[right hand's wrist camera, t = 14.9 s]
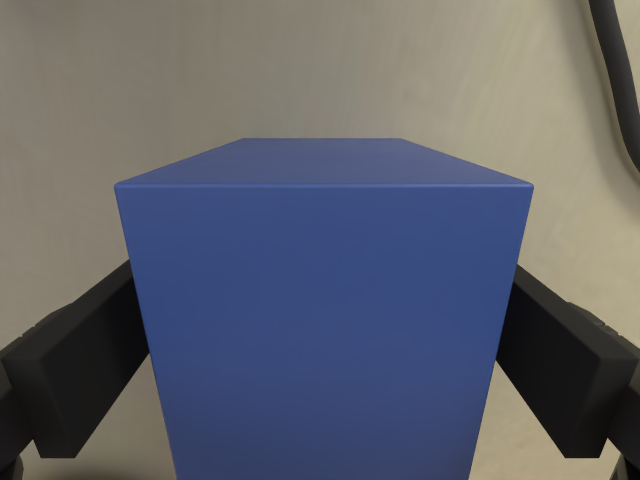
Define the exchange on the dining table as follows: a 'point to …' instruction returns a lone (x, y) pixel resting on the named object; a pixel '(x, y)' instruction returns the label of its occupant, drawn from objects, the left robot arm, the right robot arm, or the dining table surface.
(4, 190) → the dining table surface
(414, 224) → the brick
